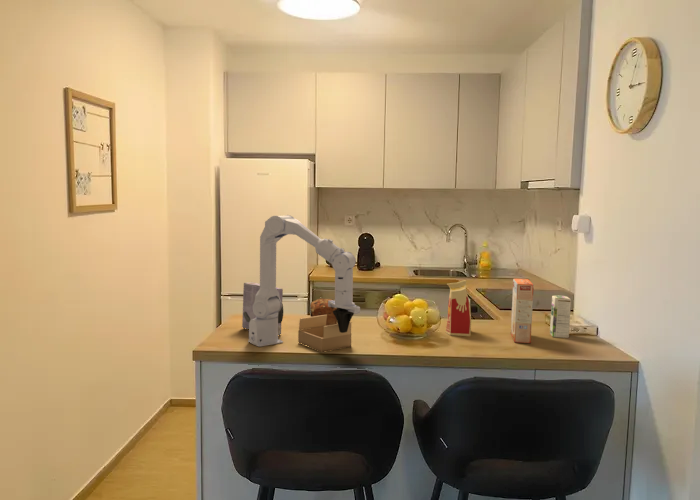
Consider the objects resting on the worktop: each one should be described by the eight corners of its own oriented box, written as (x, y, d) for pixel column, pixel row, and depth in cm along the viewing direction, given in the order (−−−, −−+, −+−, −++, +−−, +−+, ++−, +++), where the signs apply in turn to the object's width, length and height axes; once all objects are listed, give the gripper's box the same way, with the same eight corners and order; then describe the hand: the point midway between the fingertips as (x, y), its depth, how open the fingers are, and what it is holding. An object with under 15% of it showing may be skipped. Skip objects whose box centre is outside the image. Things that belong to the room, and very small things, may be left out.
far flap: (325, 325, 194) (325, 325, 194) (326, 315, 193) (326, 314, 194) (299, 329, 187) (298, 329, 188) (300, 318, 187) (299, 318, 187)
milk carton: (468, 330, 209) (470, 278, 207) (471, 336, 199) (473, 281, 198) (444, 329, 209) (445, 277, 208) (446, 335, 200) (447, 281, 198)
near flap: (323, 338, 176) (324, 338, 176) (323, 326, 176) (324, 326, 176) (350, 333, 183) (351, 333, 183) (350, 321, 183) (351, 322, 182)
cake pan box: (284, 335, 197) (284, 287, 196) (273, 338, 194) (273, 288, 192) (252, 327, 211) (252, 281, 209) (241, 329, 207) (241, 282, 205)
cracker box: (531, 344, 189) (534, 284, 188) (513, 343, 191) (516, 283, 189) (527, 334, 203) (529, 278, 201) (510, 333, 204) (512, 277, 202)
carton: (321, 352, 176) (321, 338, 176) (298, 343, 187) (298, 330, 187) (351, 346, 184) (351, 333, 183) (326, 338, 195) (327, 325, 194)
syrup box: (549, 333, 205) (551, 295, 203) (565, 334, 204) (567, 295, 202) (552, 337, 199) (554, 297, 198) (569, 338, 198) (571, 298, 197)
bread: (337, 330, 207) (337, 304, 206) (309, 330, 206) (309, 304, 206) (336, 319, 225) (336, 295, 225) (310, 319, 225) (310, 295, 224)
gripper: (367, 292, 172) (367, 334, 174) (340, 286, 184) (339, 326, 185) (350, 294, 168) (349, 338, 169) (322, 288, 179) (322, 328, 181)
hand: (343, 332), depth 177 cm, fingers closed
